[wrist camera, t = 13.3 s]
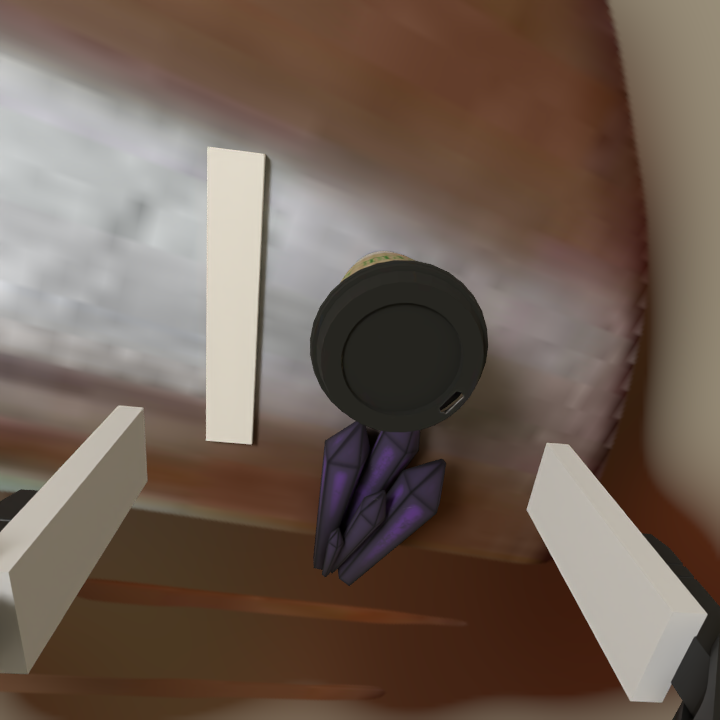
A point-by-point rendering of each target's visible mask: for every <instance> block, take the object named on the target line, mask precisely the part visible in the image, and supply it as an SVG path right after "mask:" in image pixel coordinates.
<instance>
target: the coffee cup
mask: <svg viewBox="0 0 720 720" xmlns="http://www.w3.org/2000/svg"><path fill="white" fill-rule="evenodd" d="M487 350H488V337H487V327H486V324H485V320H484V317H483V313H482V310H481V308H480V306H479V305H478V303H477V301H476V299H475V297H474V295H473V294H472V293H471V292H470V291H469V290H468V289H467V287H466V286H465V285H464V284H463V283H462V282H461V281H459V280H458V279H457V278H455V277H454V276H453V275H451V274H450V273H449V272H447V271H445V270H442V269H440V268H438V267H436V266H434V265H431V264H427V263H423V262H418V261H415V260H413V259H411V258H408V257H406V256H404V255H400V254H397V253H394V252H389V251H379V252H374V253H371V254H368V255H366V256H364V257H363V258H361V259H360V260H359V261H358V262H356V263H355V264H354V266H353V267H352V268H351V269H350V270H349V271H348V272H347V274H346V275H345V276H344V278H343V279H342V281H341V283H340V284H339V285H337V286H336V287H335V288H334V289H333V290H332V291H331V292H330V294H329V295H328V296H327V298H326V299H325V301H324V302H323V303H322V305H321V306H320V309H319V311H318V313H317V315H316V318H315V320H314V322H313V327H312V332H311V337H310V356H311V360H312V365H313V369H314V372H315V375H316V377H317V380H318V382H319V384H320V386H321V388H322V390H323V391H324V392H325V394H326V395H327V397H328V398H329V399H330V401H331V402H332V403H333V404H335V405H336V406H337V407H338V408H339V409H340V410H341V411H342V412H343V413H345V414H347V415H348V416H349V417H351V418H352V419H354V420H356V421H357V422H359V423H360V424H362V425H365V426H368V427H370V428H373V429H376V430H381V431H386V432H411V431H417V430H422V429H425V428H428V427H431V426H434V425H436V424H438V423H439V422H441V421H443V420H445V419H447V418H448V417H450V416H451V415H452V414H453V413H455V412H456V411H457V410H458V409H460V407H461V406H462V405H463V404H464V403H465V402H466V401H467V400H468V398H469V397H470V395H471V394H472V392H473V390H474V389H475V387H476V385H477V383H478V381H479V379H480V377H481V374H482V371H483V368H484V366H485V363H486V357H487ZM461 393H462V394H463V397H462V398H461V399H460V400H459V401H457V402H456V403H455V404H454V405H452V406H451V407H450V408H449V409H447V410H445V411H444V412H441V411H440V410H442V409H444V408H445V407H447V406H448V405H449V404H451V403H452V402H453V401H454V400H456V399H457V398H458V397H459V396H460V394H461Z"/></svg>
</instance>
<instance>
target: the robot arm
mask: <svg viewBox="0 0 720 720" xmlns="http://www.w3.org/2000/svg"><path fill="white" fill-rule="evenodd" d="M146 482H147V464H146V444H145V424H144V408H141V407H129V406H118V407H117V408H116V409H115V410H114V411H113V412H112V413H111V414H110V415H109V416H108V417H107V418H106V419H105V421H104V422H103V423H102V424H101V425H100V426H99V427H98V428H97V429H96V430H95V431H94V432H93V433H92V434H91V436H90V437H89V438H88V439H87V440H86V441H85V442H84V443H83V444H82V445H81V446H80V447H79V448H78V449H77V450H76V452H75V453H74V454H73V455H72V456H71V457H70V458H69V459H68V460H67V461H66V462H65V463H64V464H63V465H62V467H61V468H60V469H59V470H58V471H57V472H56V473H55V474H54V475H53V476H52V477H51V478H50V479H49V480H48V482H47V483H46V484H45V485H44V486H43V487H42V488H41V489H40V490H39V491H35V490H19V491H17V492H16V493H14V494H12V495H11V496H9V497H7V498H5V499H4V500H2V501H0V673H13V674H28V673H29V672H30V669H31V668H32V667H33V665H34V663H35V662H36V660H37V659H38V657H39V655H40V654H41V652H42V651H43V649H44V647H45V646H46V644H47V643H48V641H49V639H50V638H51V636H52V634H53V633H54V631H55V630H56V628H57V626H58V625H59V623H60V621H61V620H62V618H63V617H64V615H65V613H66V612H67V610H68V609H69V607H70V605H71V604H72V602H73V600H74V599H75V597H76V596H77V594H78V592H79V591H80V589H81V588H82V586H83V584H84V583H85V581H86V579H87V578H88V576H89V575H90V573H91V571H92V569H93V568H94V566H95V565H96V563H97V562H98V560H99V558H100V557H101V555H102V554H103V552H104V550H105V549H106V547H107V545H108V544H109V542H110V541H111V539H112V537H113V536H114V534H115V533H116V531H117V529H118V528H119V526H120V524H121V523H122V521H123V520H124V518H125V516H126V515H127V513H128V511H129V510H130V508H131V507H132V505H133V503H134V502H135V500H136V499H137V497H138V495H139V494H140V492H141V490H142V489H143V487H144V486H145V484H146ZM527 511H528V513H529V515H530V517H531V519H532V520H533V522H534V524H535V526H536V528H537V530H538V532H539V533H540V535H541V537H542V539H543V541H544V543H545V545H546V546H547V548H548V550H549V552H550V554H551V556H552V557H553V559H554V561H555V563H556V565H557V567H558V569H559V570H560V572H561V574H562V576H563V578H564V579H565V581H566V583H567V585H568V587H569V589H570V591H571V593H572V594H573V596H574V598H575V600H576V602H577V604H578V605H579V607H580V609H581V611H582V613H583V615H584V617H585V618H586V620H587V622H588V624H589V626H590V628H591V629H592V631H593V633H594V635H595V637H596V639H597V641H598V642H599V644H600V646H601V648H602V649H603V652H604V653H605V655H606V657H607V659H608V661H609V663H610V665H611V666H612V668H613V670H614V672H615V674H616V676H617V677H618V679H619V681H620V683H621V685H622V686H623V688H624V690H625V692H626V694H627V696H628V698H629V700H630V701H639V702H640V701H641V702H663V700H664V698H665V696H666V694H667V692H668V690H669V688H670V686H671V684H672V685H673V686H674V688H675V689H676V691H677V693H678V694H679V696H680V697H681V699H682V700H683V701H682V703H681V705H680V707H679V709H678V711H677V712H676V714H675V716H674V718H673V720H720V606H719V605H718V604H717V603H716V602H715V601H714V599H713V598H712V597H711V596H710V595H709V594H708V592H707V591H706V590H705V589H704V588H703V587H702V586H701V585H700V583H699V582H698V581H697V580H695V579H694V576H693V575H692V574H691V573H690V572H689V570H688V569H687V568H686V567H683V564H682V562H681V561H680V560H679V559H678V558H677V556H676V555H675V554H674V553H673V552H672V551H671V550H670V548H668V547H667V546H666V545H665V544H663V543H662V542H661V541H659V540H658V539H656V538H655V537H654V536H653V535H651V534H642V533H641V532H640V531H639V530H638V529H637V527H636V526H635V525H634V524H633V523H632V521H631V520H630V519H629V518H628V516H627V515H626V514H625V513H624V512H623V510H622V509H621V508H620V507H619V506H618V504H617V503H616V502H615V501H614V500H613V498H612V497H611V496H610V494H609V493H608V492H607V491H606V490H605V488H604V487H603V486H602V485H601V483H600V482H599V481H598V480H597V479H596V477H595V476H594V475H593V474H592V472H591V471H590V470H589V469H588V468H587V466H586V465H585V464H584V463H583V461H582V460H581V459H580V458H579V457H578V455H577V454H576V453H575V452H574V451H573V449H572V448H571V447H570V446H569V445H567V444H556V443H546V447H545V450H544V453H543V457H542V460H541V463H540V467H539V470H538V473H537V477H536V480H535V483H534V487H533V490H532V493H531V497H530V500H529V503H528V507H527Z"/></svg>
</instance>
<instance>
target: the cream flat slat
mask: <svg viewBox="0 0 720 720" xmlns="http://www.w3.org/2000/svg"><path fill="white" fill-rule="evenodd" d="M265 160H266V154H260V153H252V152H244V151H237V150H229V149H221V148H214V147H207V346H206V441H217V442H229V443H241V444H252V442H253V426H254V404H255V382H256V360H257V337H258V315H259V293H260V271H261V249H262V226H263V204H264V182H265Z"/></svg>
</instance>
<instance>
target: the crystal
mask: <svg viewBox="0 0 720 720" xmlns="http://www.w3.org/2000/svg"><path fill="white" fill-rule="evenodd" d="M419 439H420V430H417V431H411V432H386V431H380V433H379V435H378V437H377V439H376V441H375V443H374V445H373V447H372V450H371V449H370V444H369V439H368V434H367V429H366V426H365V425H362V424H360V423H359V422H357V421H355V422H354V423H352V424H351V425H349V426H348V427H346V428H344V429H343V430H341V431H340V432H338V433H337V434H335V435H333V436H332V437H330V438H329V439H327V440H326V441H325V447H324V457H323V467H322V477H321V487H320V497H319V507H318V517H317V527H316V536H315V546H314V557H313V558H314V568H317V569H321V570H323V571H322V575H323V576H324V577H326V576H327V575H328V574H329V573H330V572H331V573H333V572H334V571H335V570H336V569H338V574H339V579H341V580H342V581H343V582H345V583H346V584H347V585H349V586H350V585H351V584H352V583H354V581H356V580H357V579H358V578H359V577H361V576H362V575H363V574H364V573H365V572H367V571H368V570H369V569H370V568H372V567H373V566H374V565H375V564H376V563H377V562H379V561H380V560H381V559H382V558H383V557H385V556H386V555H387V554H388V553H390V551H392V550H393V549H394V548H396V547H397V546H398V545H399V544H400V543H402V542H403V541H404V540H405V539H406V538H408V537H409V536H410V535H411V534H412V533H414V532H415V531H416V530H417V529H418V528H420V527H421V526H422V525H423V524H424V523H426V522H427V521H428V520H429V519H430V518H432V517H433V516H434V515H435V514H436V513H437V510H438V506H439V503H440V498H441V492H442V486H443V480H444V474H445V467H446V463H445V461H444V460H443V459H439V460H435V461H432V462H429V463H425V464H422V465H419V466H415V467H412V468H409V469H405V468H406V467H407V466H408V464H409V463H410V462H411V460H412V459H413V458H414V456H415V455H416V453H417V452H418V451H419ZM370 450H371V452H370ZM369 453H370V454H369ZM368 455H369V456H368Z"/></svg>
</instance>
